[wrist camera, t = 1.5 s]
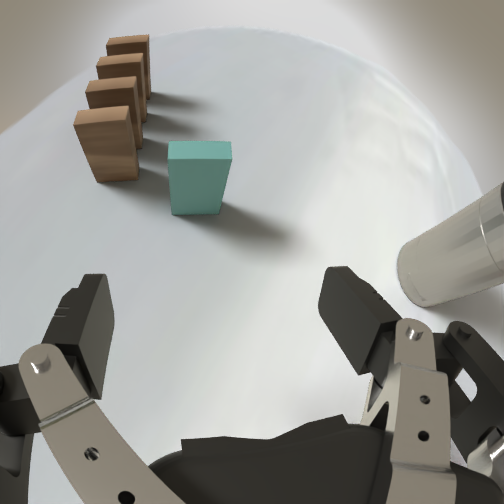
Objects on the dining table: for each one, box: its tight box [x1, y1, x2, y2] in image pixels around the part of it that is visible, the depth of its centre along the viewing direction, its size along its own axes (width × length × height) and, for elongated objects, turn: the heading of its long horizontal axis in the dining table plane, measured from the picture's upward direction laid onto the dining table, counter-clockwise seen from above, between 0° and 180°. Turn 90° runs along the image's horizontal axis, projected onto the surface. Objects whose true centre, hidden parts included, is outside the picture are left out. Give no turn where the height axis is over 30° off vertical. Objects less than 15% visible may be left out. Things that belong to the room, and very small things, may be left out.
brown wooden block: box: [106, 35, 151, 100], centre depth 30 cm, size 2×5×10 cm, turn 95°
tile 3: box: [85, 76, 143, 149], centre depth 28 cm, size 2×5×10 cm, turn 95°
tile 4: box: [96, 53, 147, 122], centre depth 29 cm, size 2×5×10 cm, turn 96°
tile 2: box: [73, 106, 139, 182], centre depth 26 cm, size 2×5×10 cm, turn 95°
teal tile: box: [168, 141, 232, 215], centre depth 27 cm, size 2×5×10 cm, turn 95°
